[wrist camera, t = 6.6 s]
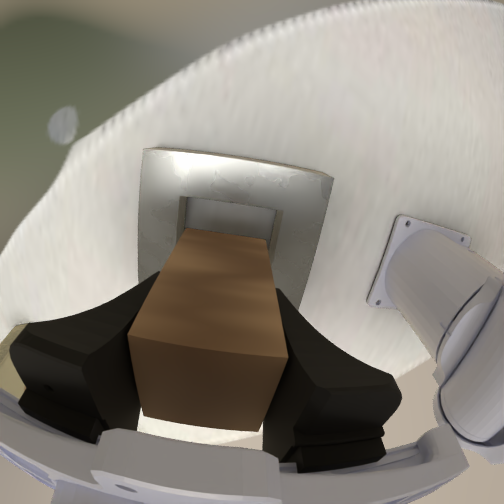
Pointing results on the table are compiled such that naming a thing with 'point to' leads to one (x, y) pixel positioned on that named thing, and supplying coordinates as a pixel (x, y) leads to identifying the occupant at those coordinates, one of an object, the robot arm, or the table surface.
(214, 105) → the table surface
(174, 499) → the robot arm
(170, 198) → the collar
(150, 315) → the peg
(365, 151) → the table surface
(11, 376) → the box
